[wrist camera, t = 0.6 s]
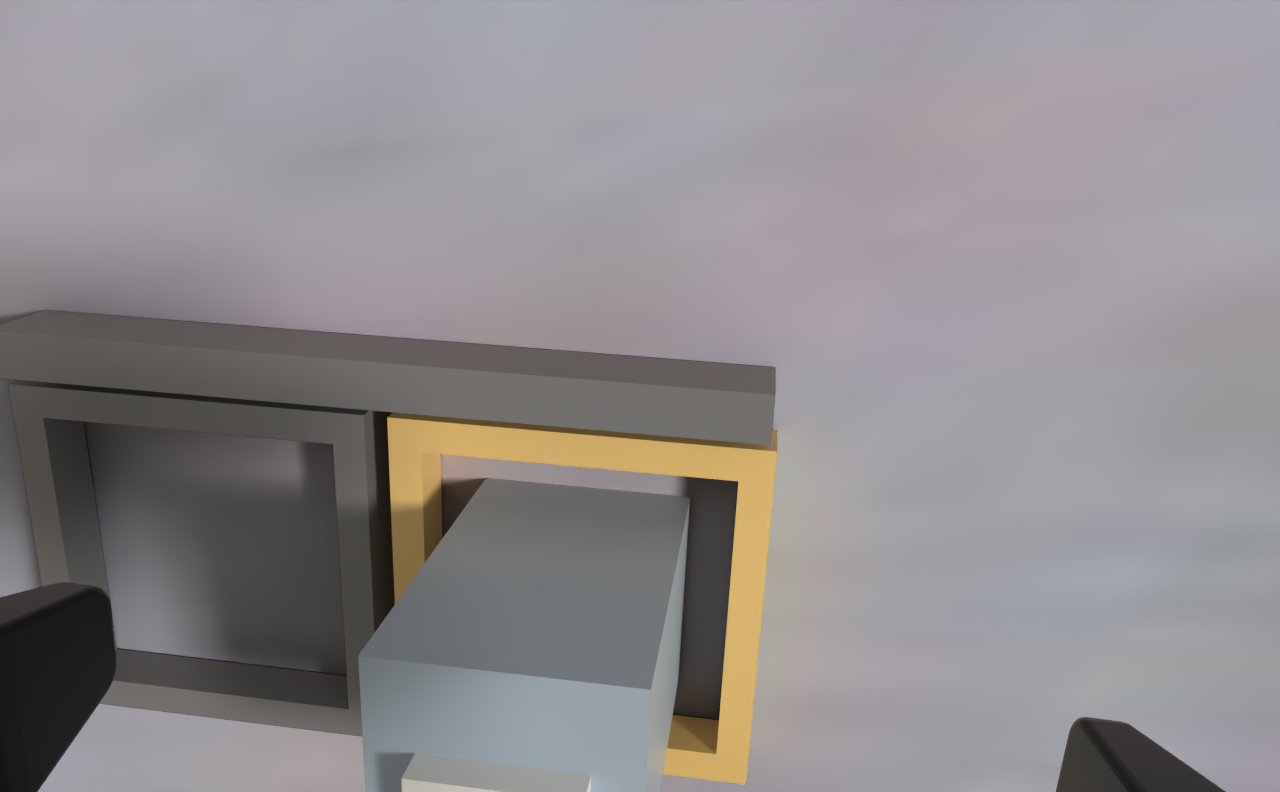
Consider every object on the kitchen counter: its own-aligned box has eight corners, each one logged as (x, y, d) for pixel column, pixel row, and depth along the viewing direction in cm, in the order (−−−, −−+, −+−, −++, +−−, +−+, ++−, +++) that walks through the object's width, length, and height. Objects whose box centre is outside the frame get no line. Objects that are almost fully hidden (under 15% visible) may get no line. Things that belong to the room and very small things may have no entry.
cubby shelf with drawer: (747, 749, 23) (744, 803, 21) (93, 670, 25) (43, 714, 23) (783, 367, 20) (783, 395, 18) (38, 309, 22) (-25, 330, 20)
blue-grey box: (678, 676, 23) (632, 958, 15) (487, 655, 23) (356, 917, 16) (690, 496, 21) (645, 714, 14) (486, 477, 22) (342, 678, 14)
